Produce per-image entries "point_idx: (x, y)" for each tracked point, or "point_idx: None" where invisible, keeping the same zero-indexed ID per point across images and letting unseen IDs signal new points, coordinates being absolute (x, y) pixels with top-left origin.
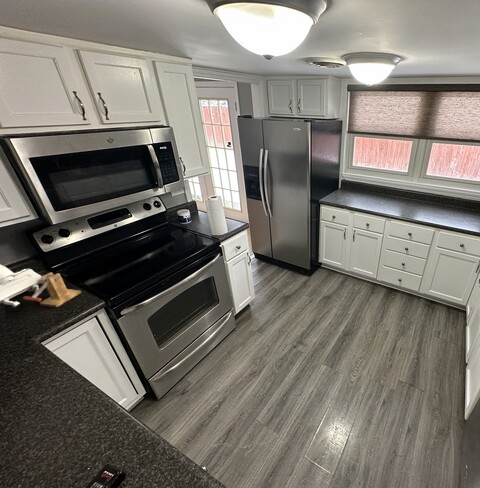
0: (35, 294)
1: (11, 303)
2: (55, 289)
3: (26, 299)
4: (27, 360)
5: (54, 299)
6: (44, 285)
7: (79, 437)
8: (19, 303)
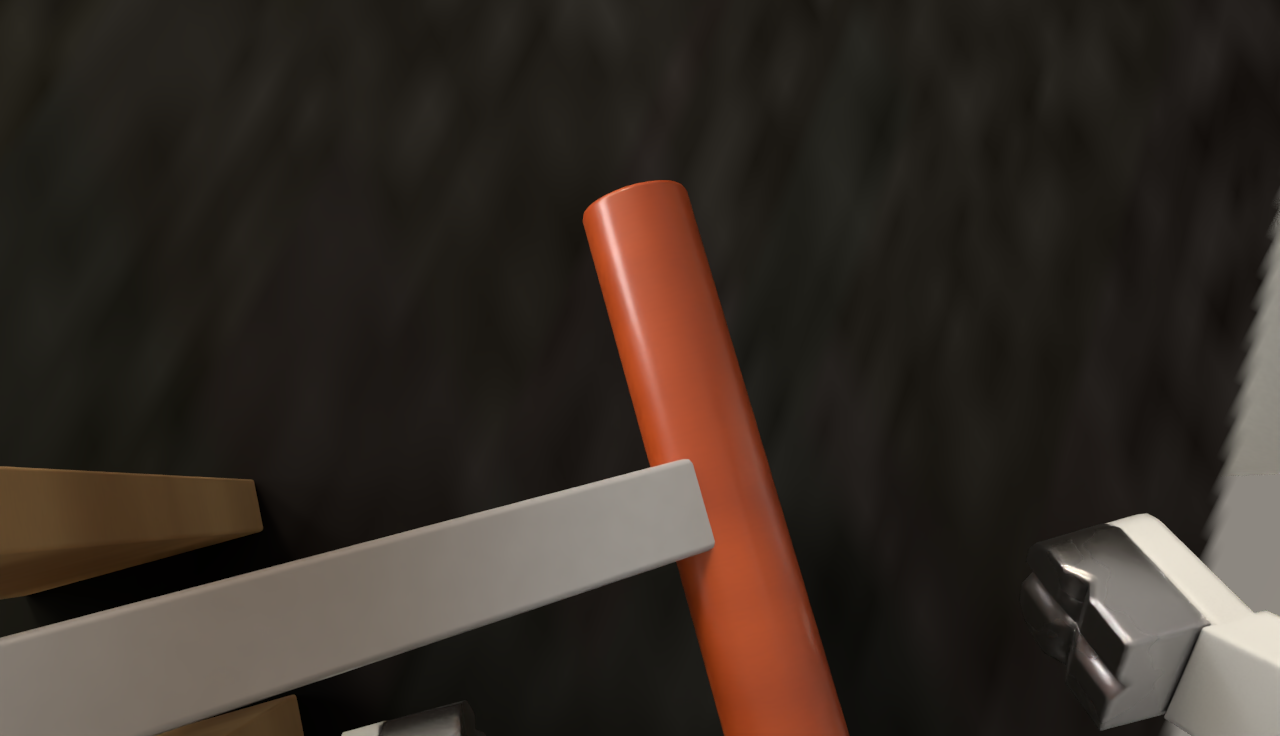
0: (584, 514)
1: (1255, 639)
2: (52, 471)
3: (822, 651)
4: None
5: None
6: (36, 640)
7: None
8: (1039, 543)
